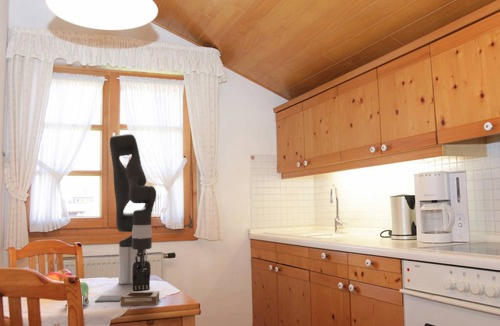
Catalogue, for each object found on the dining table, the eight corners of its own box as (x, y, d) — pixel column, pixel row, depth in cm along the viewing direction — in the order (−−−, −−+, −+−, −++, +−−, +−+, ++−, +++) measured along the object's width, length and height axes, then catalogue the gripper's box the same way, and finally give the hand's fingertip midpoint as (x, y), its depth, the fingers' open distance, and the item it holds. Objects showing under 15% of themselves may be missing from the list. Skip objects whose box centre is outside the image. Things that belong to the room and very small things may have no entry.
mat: (101, 297, 185) (101, 295, 185) (123, 296, 185) (123, 295, 185) (95, 302, 176) (95, 300, 176) (118, 301, 176) (118, 300, 176)
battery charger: (132, 292, 173) (132, 262, 174) (131, 290, 177) (131, 260, 178) (150, 291, 176) (151, 261, 176) (149, 289, 179) (149, 259, 180)
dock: (126, 299, 180) (126, 291, 180) (159, 299, 181) (159, 291, 181) (120, 305, 170) (120, 297, 170) (155, 304, 171) (155, 296, 171)
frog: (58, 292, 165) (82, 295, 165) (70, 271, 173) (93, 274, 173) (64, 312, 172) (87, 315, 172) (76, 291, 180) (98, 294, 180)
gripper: (135, 234, 185) (134, 277, 183) (128, 238, 170) (127, 284, 169) (154, 234, 185) (153, 277, 184) (148, 238, 171) (148, 284, 170)
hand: (141, 280), depth 177 cm, fingers closed on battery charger, 4 cm apart
